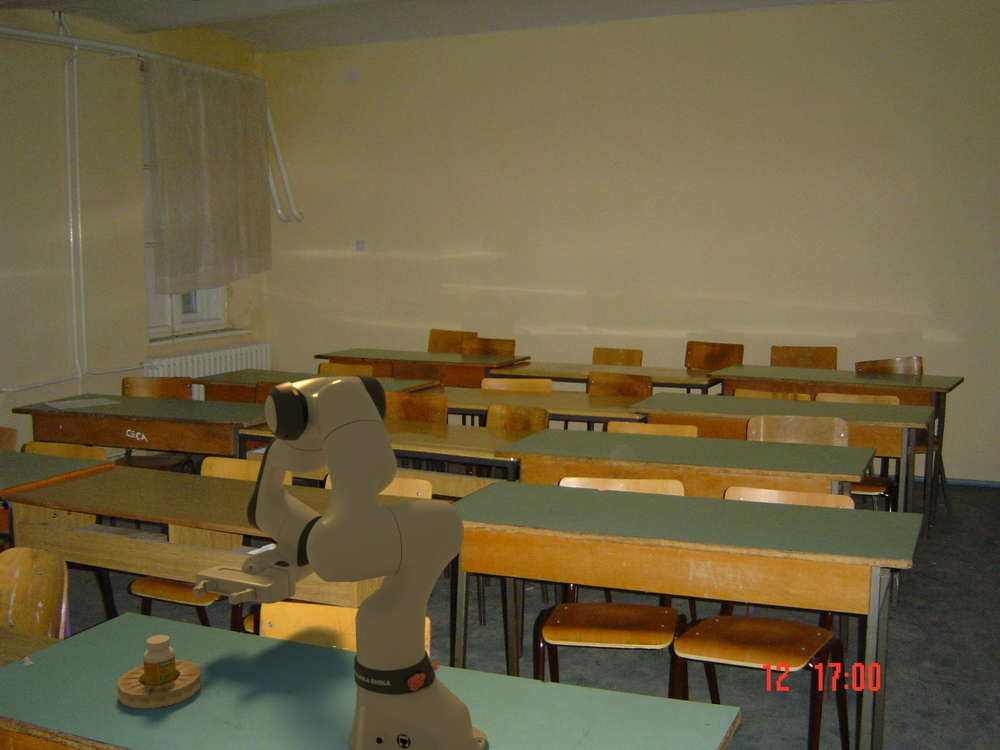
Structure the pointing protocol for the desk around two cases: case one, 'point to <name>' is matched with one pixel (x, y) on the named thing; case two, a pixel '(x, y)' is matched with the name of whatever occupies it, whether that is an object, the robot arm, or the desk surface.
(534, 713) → the desk surface
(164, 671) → the supplement bottle
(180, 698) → the plain brown donut
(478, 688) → the desk surface
